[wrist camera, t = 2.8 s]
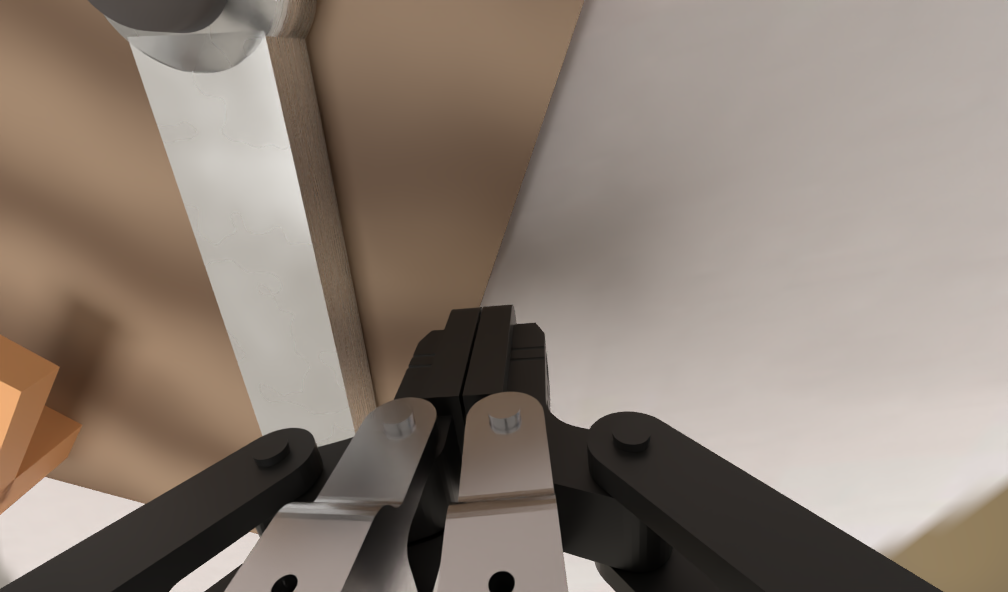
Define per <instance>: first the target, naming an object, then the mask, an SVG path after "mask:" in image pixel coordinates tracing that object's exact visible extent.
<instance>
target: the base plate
mask: <svg viewBox="0 0 1008 592" xmlns="http://www.w3.org/2000/svg"><path fill="white" fill-rule="evenodd" d="M227 1H228V0H0V335H2V336H4V337H6V338H8V339H9V340H11V341H13V342H15V343H17V344H19V345H20V346H22V347H24V348H26V349H28V350H30V351H32V352H33V353H35V354H37V355H39V356H41V357H43V358H44V359H46V360H48V361H50V362H52V363H54V364H55V365H57V366H59V367H60V368H59V371H58V373H57V375H56V378H55V380H54V383H53V385H52V388H51V390H50V393H49V395H48V398H47V400H46V403H45V406H47V407H49V408H51V409H53V410H55V411H57V412H59V413H61V414H63V415H64V416H66V417H68V418H70V419H72V420H74V421H76V422H78V423H80V424H82V427H81V429H80V431H79V434H78V436H77V438H76V440H75V442H74V444H73V446H72V449H71V451H70V453H69V455H68V457H67V458H66V459H65V460H64V461H63V462H62V463H61V464H59V465H58V466H57V467H56V468H55V469H53V470H52V471H51V472H50V473H49V474H48V475H46V476H45V477H48V478H52V479H55V480H59V481H63V482H66V483H70V484H74V485H78V486H81V487H85V488H89V489H92V490H96V491H100V492H104V493H107V494H111V495H115V496H119V497H122V498H126V499H130V500H133V501H137V502H141V503H145V504H147V503H148V502H150V501H152V500H153V499H155V498H157V497H159V496H160V495H162V494H164V493H165V492H167V491H169V490H170V489H172V488H174V487H176V486H177V485H179V484H181V483H182V482H184V481H186V480H188V479H189V478H191V477H193V476H194V475H196V474H198V473H200V472H201V471H203V470H205V469H206V468H208V467H210V466H212V465H213V464H215V463H217V462H218V461H220V460H222V459H224V458H225V457H227V456H229V455H230V454H232V453H234V452H236V451H237V450H239V449H241V448H242V447H244V446H246V445H248V444H249V443H251V442H253V441H254V440H256V439H258V438H260V437H262V433H261V430H260V427H259V424H258V421H257V418H256V415H255V412H254V409H253V407H252V404H251V401H250V398H249V395H248V392H247V389H246V386H245V383H244V380H243V377H242V374H241V371H240V368H239V365H238V362H237V359H236V356H235V353H234V350H233V347H232V345H231V342H230V339H229V336H228V333H227V330H226V327H225V324H224V321H223V318H222V315H221V312H220V309H219V306H218V303H217V300H216V297H215V294H214V291H213V288H212V286H211V283H210V280H209V277H208V274H207V271H206V268H205V265H204V262H203V259H202V256H201V253H200V250H199V247H198V244H197V241H196V238H195V235H194V232H193V229H192V227H191V224H190V221H189V218H188V215H187V212H186V209H185V206H184V203H183V200H182V197H181V194H180V191H179V188H178V185H177V182H176V179H175V176H174V173H173V170H172V167H171V165H170V162H169V159H168V156H167V153H166V150H165V147H164V144H163V141H162V138H161V135H160V132H159V129H158V126H157V123H156V120H155V117H154V114H153V111H152V108H151V106H150V103H149V100H148V97H147V94H146V91H145V88H144V85H143V82H142V79H141V76H140V73H139V70H138V67H137V64H136V61H135V58H134V55H133V52H132V49H131V46H130V44H129V42H128V41H127V40H126V39H125V38H124V37H123V36H122V35H121V34H120V33H119V32H118V31H117V30H116V29H115V28H114V27H113V26H112V25H111V24H110V23H109V21H108V20H107V19H106V17H105V16H107V17H108V18H110V19H112V20H113V21H115V22H117V23H119V24H121V25H124V26H126V27H129V28H132V29H136V30H142V31H152V32H169V33H192V32H197V31H199V30H202V29H204V28H206V27H208V26H209V25H211V24H212V23H213V22H214V21H215V20H216V19H217V18H218V17H219V16H220V14H221V13H222V11H223V9H224V8H225V6H226V3H227ZM583 3H584V0H317V2H316V10H315V14H314V19H313V22H312V25H311V28H310V30H309V32H308V34H307V36H306V38H305V41H306V46H307V51H308V56H309V62H310V67H311V72H312V77H313V82H314V87H315V93H316V98H317V103H318V108H319V113H320V118H321V123H322V129H323V134H324V139H325V144H326V149H327V154H328V159H329V165H330V170H331V175H332V180H333V185H334V190H335V196H336V201H337V206H338V211H339V216H340V221H341V226H342V232H343V237H344V242H345V247H346V252H347V257H348V262H349V268H350V273H351V278H352V283H353V288H354V293H355V299H356V304H357V309H358V314H359V319H360V324H361V329H362V335H363V340H364V345H365V350H366V355H367V360H368V365H369V371H370V376H371V381H372V386H373V391H374V396H375V402H376V407H379V406H381V405H383V404H385V403H387V402H389V401H392V400H394V398H395V395H396V393H397V391H398V388H399V386H400V384H401V382H402V379H403V377H404V375H405V372H406V370H407V368H409V363H410V361H411V359H412V358H413V354H414V352H415V349H416V347H417V345H418V343H419V341H421V340H422V339H423V338H424V337H425V336H426V335H427V334H428V333H430V332H431V331H432V330H444V329H445V326H446V323H447V321H448V318H449V315H450V312H451V310H452V309H464V308H477V307H480V304H481V301H482V298H483V295H484V292H485V289H486V286H487V283H488V280H489V278H490V275H491V272H492V269H493V266H494V263H495V260H496V257H497V254H498V251H499V248H500V245H501V242H502V240H503V237H504V234H505V231H506V228H507V225H508V222H509V219H510V216H511V213H512V210H513V207H514V204H515V202H516V199H517V196H518V193H519V190H520V187H521V184H522V181H523V178H524V175H525V172H526V169H527V167H528V164H529V161H530V158H531V155H532V152H533V149H534V146H535V143H536V140H537V137H538V134H539V131H540V129H541V126H542V123H543V120H544V117H545V114H546V111H547V108H548V105H549V102H550V99H551V96H552V93H553V91H554V88H555V85H556V82H557V79H558V76H559V73H560V70H561V67H562V64H563V61H564V58H565V55H566V53H567V50H568V47H569V44H570V41H571V38H572V35H573V32H574V29H575V26H576V23H577V20H578V17H579V15H580V12H581V9H582V6H583ZM103 14H104V15H105V16H104V15H103ZM250 532H252V533H256V534H258V532H257V530H256V528H254V529H253V530H251V531H250Z"/></svg>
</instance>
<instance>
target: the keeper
mask: <svg viewBox="0 0 1008 592" xmlns="http://www.w3.org/2000/svg"><path fill="white" fill-rule="evenodd" d="M59 368H60V367H59V366H57V365H55V364H54V363H52V362H50V361H48V360H46V359H44V358H43V357H41V356H39V355H37V354H35V353H33V352H32V351H30V350H28V349H26V348H24V347H22V346H20V345H19V344H17V343H15V342H13V341H11V340H9V339H8V338H6V337H4V336H2V335H0V514H2V513H3V512H4V511H5V510H6V509H8V508H9V507H10V506H11V505H12V504H13V503H15V502H16V501H17V500H18V499H19V498H20V497H22V496H23V495H24V494H25V493H26V492H28V491H29V490H30V489H31V488H32V487H33V486H35V485H36V484H37V483H38V482H39V481H41V480H42V479H43V478H44V477H45V476H46V475H48V474H49V473H50V472H51V471H52V470H53V469H55V468H56V467H57V466H58V465H59V464H61V463H62V462H63V461H64V460H65V459H66V458H67V457H68V455H69V453H70V451H71V449H72V446H73V444H74V442H75V440H76V438H77V436H78V434H79V431H80V429H81V427H82V424H80V423H78V422H76V421H74V420H72V419H70V418H68V417H66V416H64V415H63V414H61V413H59V412H57V411H55V410H53V409H51V408H49V407H47V406H45V403H46V400H47V398H48V395H49V393H50V390H51V388H52V385H53V383H54V380H55V378H56V375H57V373H58V371H59Z"/></svg>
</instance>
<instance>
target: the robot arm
mask: <svg viewBox="0 0 1008 592" xmlns="http://www.w3.org/2000/svg"><path fill="white" fill-rule="evenodd" d="M254 528H256V530H257V532H258V534H259V536H260V539H259V540H258V542H257V543H256V545H255V546H254V548H253V549H252V551H251V552H250V554H249V555H248V557H247V558H246V560H245V561H244V563H243V564H241V565H240V566H239V567H237V568H236V569H235V570H233V571H232V572H230V573H229V574H228V575H226V576H225V577H224V578H222V579H221V580H220V581H218V582H217V583H216V584H214V585H213V586H211V587H210V588H209V589H207V590H206V591H205V592H568V586H567V579H566V571H565V563H564V556H563V552H565V553H569V554H572V555H575V556H579V557H582V558H585V559H588V560H592V561H595V565H596V568H597V570H598V572H599V573H600V575H601V576H602V577H603V579H604V580H605V581H606V582H607V583H608V584H609V585H610V586H611V587H612V588H613V589H614V590H615V591H616V592H943V591H941V590H940V589H938V588H936V587H935V586H933V585H931V584H929V583H928V582H926V581H925V580H923V579H921V578H920V577H918V576H916V575H915V574H913V573H912V572H910V571H908V570H907V569H905V568H903V567H901V566H900V565H898V564H896V563H895V562H893V561H892V560H890V559H888V558H887V557H885V556H883V555H882V554H880V553H879V552H877V551H875V550H874V549H872V548H870V547H869V546H867V545H865V544H864V543H862V542H860V541H859V540H857V539H855V538H854V537H852V536H850V535H849V534H847V533H846V532H844V531H842V530H841V529H839V528H837V527H836V526H834V525H832V524H831V523H829V522H827V521H826V520H824V519H822V518H821V517H819V516H817V515H816V514H814V513H813V512H811V511H809V510H808V509H806V508H804V507H803V506H801V505H799V504H798V503H796V502H794V501H793V500H791V499H789V498H788V497H786V496H784V495H783V494H781V493H780V492H778V491H776V490H775V489H773V488H771V487H770V486H768V485H766V484H765V483H763V482H761V481H760V480H758V479H756V478H755V477H753V476H751V475H750V474H748V473H747V472H745V471H743V470H742V469H740V468H738V467H737V466H735V465H733V464H732V463H730V462H728V461H727V460H725V459H723V458H722V457H720V456H718V455H717V454H715V453H714V452H712V451H710V450H709V449H707V448H705V447H704V446H702V445H700V444H699V443H697V442H695V441H694V440H692V439H690V438H689V437H687V436H685V435H684V434H682V433H681V432H679V431H677V430H676V429H674V428H672V427H671V426H669V425H667V424H666V423H664V422H662V421H661V420H659V419H657V418H655V417H653V416H650V415H647V414H643V413H638V412H617V413H612V414H609V415H606V416H604V417H602V418H600V419H599V420H597V421H596V422H595V423H594V424H593V425H592V426H591V428H590V429H585V428H580V427H575V426H572V425H569V424H566V423H564V422H562V421H560V420H559V419H557V418H556V417H555V416H554V415H553V414H552V413H551V412H550V385H549V375H548V365H547V354H546V344H545V333H544V332H543V331H542V330H541V329H540V327H539V326H538V325H537V324H536V323H526V324H516V317H515V310H514V306H513V305H502V306H489V307H483V309H482V307H477V308H464V309H452V310H451V312H450V315H449V318H448V321H447V323H446V326H445V329H444V330H432V331H431V332H430V333H428V334H427V335H426V336H425V337H424V338H423V339H422V340H421V341H419V343H418V345H417V347H416V349H415V352H414V354H413V358H412V359H411V361H410V363H409V368H407V370H406V372H405V375H404V377H403V379H402V382H401V384H400V386H399V388H398V391H397V393H396V395H395V398H394V400H392V401H389V402H387V403H385V404H383V405H381V406H379V407H377V408H376V409H374V410H373V411H372V412H370V413H369V414H368V415H367V416H366V418H365V419H364V421H363V422H362V424H361V425H360V427H359V429H358V430H357V432H356V434H355V435H354V437H352V438H348V439H345V440H342V441H338V442H334V443H331V444H327V445H323V446H320V447H317V444H316V442H315V439H314V437H313V435H312V434H311V433H310V432H309V431H307V430H305V429H302V428H286V429H281V430H277V431H274V432H271V433H268V434H266V435H264V436H262V437H260V438H258V439H256V440H254V441H253V442H251V443H249V444H248V445H246V446H244V447H242V448H241V449H239V450H237V451H236V452H234V453H232V454H230V455H229V456H227V457H225V458H224V459H222V460H220V461H218V462H217V463H215V464H213V465H212V466H210V467H208V468H206V469H205V470H203V471H201V472H200V473H198V474H196V475H194V476H193V477H191V478H189V479H188V480H186V481H184V482H182V483H181V484H179V485H177V486H176V487H174V488H172V489H170V490H169V491H167V492H165V493H164V494H162V495H160V496H159V497H157V498H155V499H153V500H152V501H150V502H148V503H147V504H145V505H143V506H141V507H140V508H138V509H136V510H135V511H133V512H131V513H129V514H128V515H126V516H124V517H123V518H121V519H119V520H117V521H116V522H114V523H112V524H111V525H109V526H107V527H105V528H104V529H102V530H100V531H99V532H97V533H95V534H93V535H92V536H90V537H88V538H87V539H85V540H83V541H81V542H80V543H78V544H76V545H75V546H73V547H71V548H69V549H68V550H66V551H64V552H63V553H61V554H59V555H57V556H56V557H54V558H52V559H51V560H49V561H47V562H46V563H44V564H42V565H40V566H39V567H37V568H35V569H34V570H32V571H30V572H28V573H27V574H25V575H23V576H22V577H20V578H18V579H16V580H15V581H13V582H11V583H10V584H8V585H6V586H4V587H3V588H1V589H0V592H169V591H170V590H171V589H172V587H173V586H174V585H175V584H177V583H178V582H179V581H180V580H181V579H183V578H184V577H186V576H187V575H188V574H190V573H191V572H193V571H194V570H196V569H197V568H198V567H200V566H201V565H203V564H204V563H206V562H207V561H208V560H210V559H211V558H213V557H214V556H216V555H217V554H218V553H220V552H221V551H223V550H224V549H226V548H227V547H228V546H230V545H231V544H233V543H234V542H236V541H237V540H238V539H240V538H241V537H243V536H244V535H246V534H247V533H248V532H250V531H251V530H253V529H254Z"/></svg>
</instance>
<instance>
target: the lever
mask: <svg viewBox="0 0 1008 592" xmlns="http://www.w3.org/2000/svg"><path fill="white" fill-rule="evenodd" d="M316 2H317V0H228V1H227V3H226V6H225V8H224V9H223V11H222V13H221V14H220V16H219V17H218V18H217V19H216V20H215V21H214V22H213V23H212V24H211V25H209V26H208V27H206V28H204V29H202V30H199V31H197V32H192V33H169V32H152V31H142V30H136V29H132V28H129V27H126V26H124V25H121V24H119V23H117V22H115V21H113V20H112V19H110V18H108V17H107V16H105V15H104V14H103V15H104V16H105V17H106V19H107V20H108V21H109V23H110V24H111V25H112V26H113V27H114V28H115V29H116V30H117V31H118V32H119V33H120V34H121V35H122V36H123V37H124V38H125V39H126V40H127V41H128V42H129V44H130V46H131V49H132V52H133V55H134V58H135V61H136V64H137V67H138V70H139V73H140V76H141V79H142V82H143V85H144V88H145V91H146V94H147V97H148V100H149V103H150V106H151V108H152V111H153V114H154V117H155V120H156V123H157V126H158V129H159V132H160V135H161V138H162V141H163V144H164V147H165V150H166V153H167V156H168V159H169V162H170V165H171V167H172V170H173V173H174V176H175V179H176V182H177V185H178V188H179V191H180V194H181V197H182V200H183V203H184V206H185V209H186V212H187V215H188V218H189V221H190V224H191V227H192V229H193V232H194V235H195V238H196V241H197V244H198V247H199V250H200V253H201V256H202V259H203V262H204V265H205V268H206V271H207V274H208V277H209V280H210V283H211V286H212V288H213V291H214V294H215V297H216V300H217V303H218V306H219V309H220V312H221V315H222V318H223V321H224V324H225V327H226V330H227V333H228V336H229V339H230V342H231V345H232V347H233V350H234V353H235V356H236V359H237V362H238V365H239V368H240V371H241V374H242V377H243V380H244V383H245V386H246V389H247V392H248V395H249V398H250V401H251V404H252V407H253V409H254V412H255V415H256V418H257V421H258V424H259V427H260V430H261V433H262V436H264V435H266V434H268V433H271V432H274V431H277V430H281V429H286V428H302V429H305V430H307V431H309V432H310V433H311V434H312V435H313V437H314V439H315V442H316V444H317V447H320V446H323V445H327V444H331V443H334V442H338V441H342V440H345V439H348V438H352V437H354V435H355V434H356V432H357V430H358V429H359V427H360V425H361V424H362V422H363V421H364V419H365V418H366V416H367V415H368V414H369V413H370V412H372V411H373V410H374V409H376V408H377V407H376V402H375V396H374V391H373V386H372V381H371V376H370V371H369V365H368V360H367V355H366V350H365V345H364V340H363V335H362V329H361V324H360V319H359V314H358V309H357V304H356V299H355V293H354V288H353V283H352V278H351V273H350V268H349V262H348V257H347V252H346V247H345V242H344V237H343V232H342V226H341V221H340V216H339V211H338V206H337V201H336V196H335V190H334V185H333V180H332V175H331V170H330V165H329V159H328V154H327V149H326V144H325V139H324V134H323V129H322V123H321V118H320V113H319V108H318V103H317V98H316V93H315V87H314V82H313V77H312V72H311V67H310V62H309V56H308V51H307V46H306V41H305V38H306V36H307V34H308V32H309V30H310V28H311V25H312V22H313V19H314V14H315V10H316Z"/></svg>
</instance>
